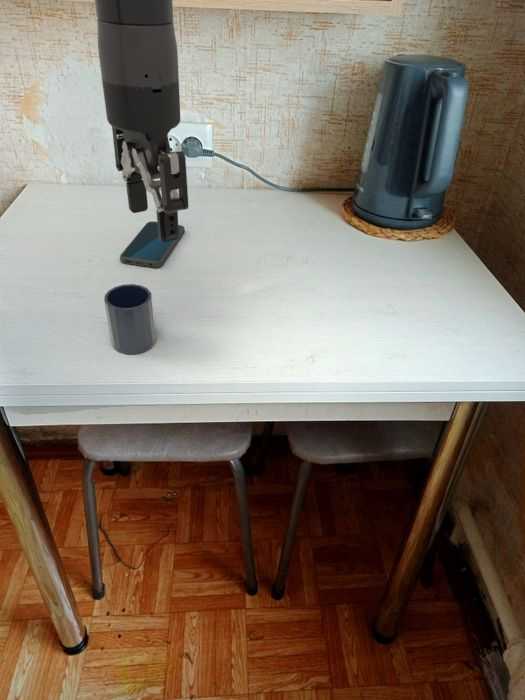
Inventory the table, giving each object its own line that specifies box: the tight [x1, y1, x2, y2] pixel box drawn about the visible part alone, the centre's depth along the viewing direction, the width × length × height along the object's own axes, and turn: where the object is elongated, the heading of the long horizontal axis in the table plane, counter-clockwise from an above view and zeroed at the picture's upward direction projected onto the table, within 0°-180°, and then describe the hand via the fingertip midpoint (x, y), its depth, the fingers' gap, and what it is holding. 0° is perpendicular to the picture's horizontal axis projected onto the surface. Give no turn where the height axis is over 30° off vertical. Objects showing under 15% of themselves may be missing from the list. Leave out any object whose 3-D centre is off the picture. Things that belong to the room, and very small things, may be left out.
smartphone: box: [119, 220, 185, 268], centre depth 92 cm, size 8×15×1 cm, turn 170°
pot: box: [103, 283, 157, 356], centre depth 69 cm, size 6×6×8 cm
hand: (153, 224), depth 61 cm, fingers open, 8 cm apart
